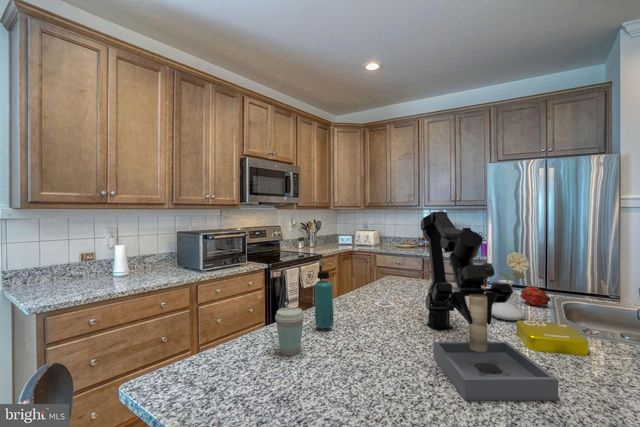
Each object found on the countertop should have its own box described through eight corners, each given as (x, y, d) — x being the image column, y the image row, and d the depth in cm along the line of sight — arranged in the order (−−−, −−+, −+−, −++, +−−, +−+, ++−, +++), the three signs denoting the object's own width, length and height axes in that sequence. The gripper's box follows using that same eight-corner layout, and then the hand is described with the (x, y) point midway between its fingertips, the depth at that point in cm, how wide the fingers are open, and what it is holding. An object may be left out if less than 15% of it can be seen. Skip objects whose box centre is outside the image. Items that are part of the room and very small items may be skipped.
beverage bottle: (332, 332, 109) (331, 273, 109) (312, 331, 111) (312, 273, 110) (335, 326, 116) (334, 270, 115) (316, 324, 117) (316, 269, 117)
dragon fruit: (521, 304, 144) (548, 316, 133) (511, 295, 141) (539, 306, 130) (530, 288, 145) (559, 299, 134) (521, 279, 141) (550, 289, 131)
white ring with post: (381, 301, 148) (381, 292, 148) (397, 303, 143) (397, 294, 143) (372, 305, 141) (372, 296, 141) (389, 308, 136) (389, 299, 136)
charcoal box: (433, 358, 90) (433, 341, 90) (506, 357, 90) (506, 341, 90) (464, 400, 70) (464, 379, 70) (558, 400, 70) (558, 379, 70)
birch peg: (471, 343, 83) (471, 293, 83) (488, 347, 80) (488, 295, 80) (467, 349, 80) (467, 296, 79) (485, 353, 77) (485, 299, 77)
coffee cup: (308, 347, 98) (308, 308, 98) (297, 360, 90) (297, 316, 90) (283, 344, 101) (282, 305, 101) (270, 355, 93) (269, 314, 93)
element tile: (529, 351, 94) (529, 334, 94) (514, 332, 108) (514, 318, 108) (591, 357, 90) (591, 340, 90) (567, 337, 104) (567, 322, 104)
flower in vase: (491, 320, 119) (490, 253, 119) (487, 311, 129) (487, 249, 129) (532, 325, 114) (532, 254, 114) (525, 315, 125) (525, 250, 124)
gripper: (434, 252, 84) (447, 307, 74) (509, 251, 83) (534, 308, 72) (427, 275, 92) (438, 328, 81) (495, 276, 91) (516, 330, 80)
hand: (480, 323), depth 79 cm, fingers closed on birch peg, 4 cm apart
